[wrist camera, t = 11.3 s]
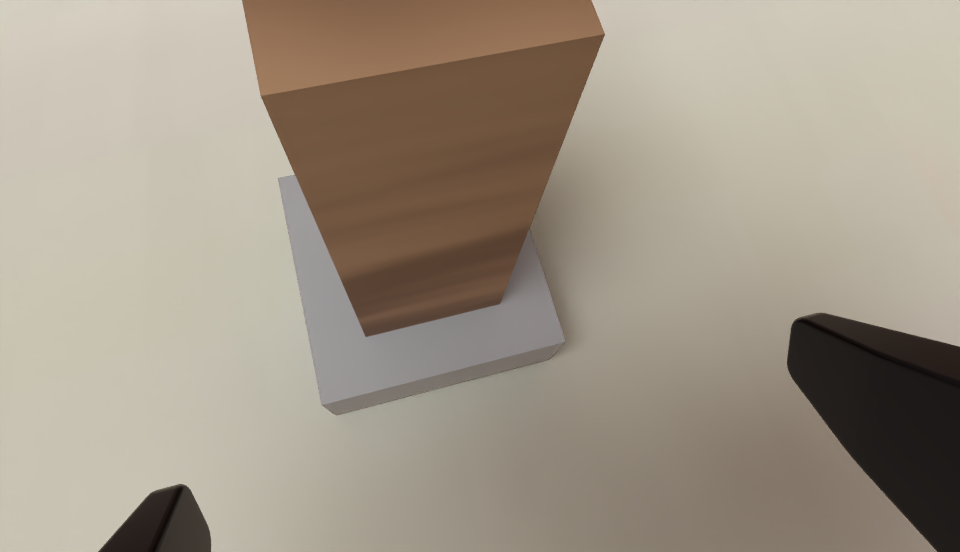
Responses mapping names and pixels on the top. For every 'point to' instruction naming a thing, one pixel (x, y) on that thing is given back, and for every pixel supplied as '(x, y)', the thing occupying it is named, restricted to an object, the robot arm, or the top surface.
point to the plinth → (411, 327)
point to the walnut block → (422, 136)
